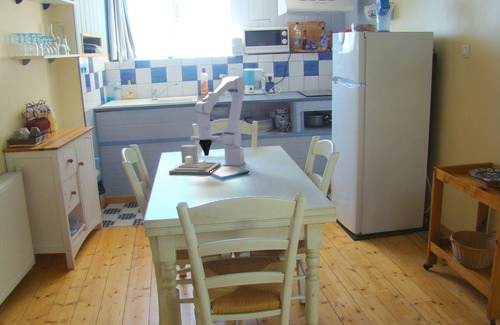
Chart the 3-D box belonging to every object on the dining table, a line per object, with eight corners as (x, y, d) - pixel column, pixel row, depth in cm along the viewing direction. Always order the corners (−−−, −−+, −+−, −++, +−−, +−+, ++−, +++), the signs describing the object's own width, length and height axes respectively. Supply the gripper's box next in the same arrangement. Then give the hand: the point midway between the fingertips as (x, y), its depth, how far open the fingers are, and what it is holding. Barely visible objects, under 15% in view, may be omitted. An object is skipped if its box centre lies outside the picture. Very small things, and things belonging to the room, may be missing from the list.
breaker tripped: (205, 167, 222) (205, 159, 222) (202, 170, 219) (202, 161, 218) (201, 167, 223) (200, 159, 222) (198, 170, 219) (197, 161, 218)
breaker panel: (220, 165, 232) (220, 161, 232) (208, 175, 215) (207, 170, 215) (184, 165, 238) (183, 160, 237) (169, 174, 221) (168, 169, 220)
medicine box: (198, 160, 247) (197, 144, 245) (196, 162, 242) (195, 146, 240) (184, 160, 248) (182, 145, 246) (182, 162, 243) (180, 146, 241)
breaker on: (192, 163, 233) (192, 156, 232) (189, 165, 229) (189, 157, 228) (188, 163, 233) (187, 155, 232) (185, 165, 230) (184, 157, 229)
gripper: (186, 128, 214) (189, 157, 217) (215, 128, 210) (218, 157, 213) (192, 126, 220) (195, 153, 223) (221, 126, 216) (223, 154, 219)
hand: (206, 155), depth 219 cm, fingers closed
